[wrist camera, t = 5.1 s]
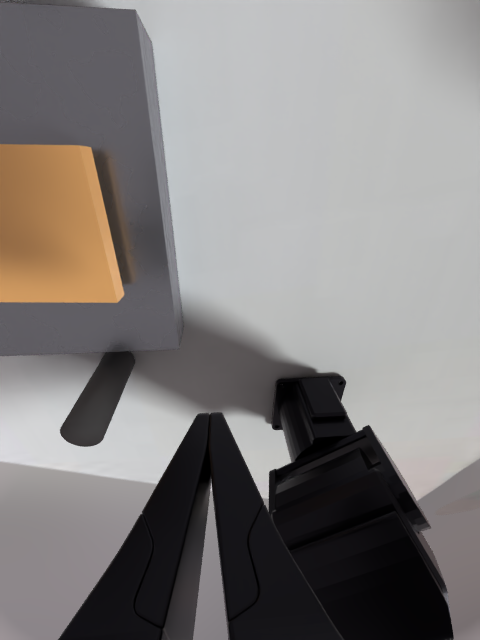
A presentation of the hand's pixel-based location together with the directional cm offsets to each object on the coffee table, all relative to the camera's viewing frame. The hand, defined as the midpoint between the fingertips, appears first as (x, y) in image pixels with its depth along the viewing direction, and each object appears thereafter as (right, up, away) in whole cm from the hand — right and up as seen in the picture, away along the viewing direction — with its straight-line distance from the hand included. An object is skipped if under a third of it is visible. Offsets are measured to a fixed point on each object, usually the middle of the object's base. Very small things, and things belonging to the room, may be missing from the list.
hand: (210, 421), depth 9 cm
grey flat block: (-9, +10, +7) cm, 15 cm away
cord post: (-9, 0, +13) cm, 15 cm away
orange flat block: (-10, +8, +4) cm, 13 cm away
